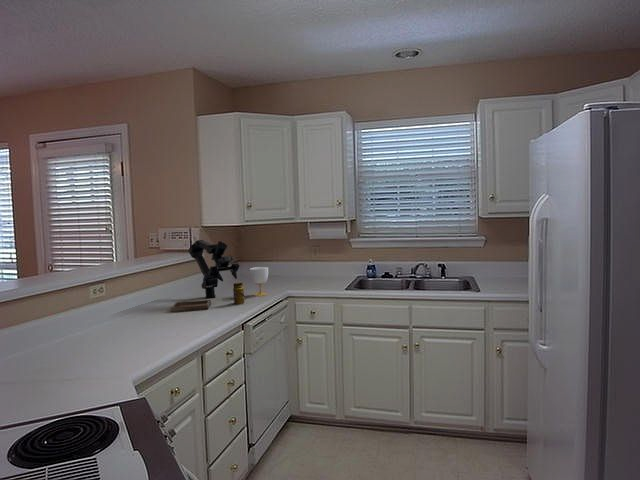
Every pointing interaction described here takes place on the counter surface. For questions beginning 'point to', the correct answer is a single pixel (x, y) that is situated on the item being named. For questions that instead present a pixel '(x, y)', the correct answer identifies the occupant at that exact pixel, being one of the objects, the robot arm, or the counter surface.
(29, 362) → the counter surface
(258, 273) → the cup
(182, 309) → the tray
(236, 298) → the condiment
